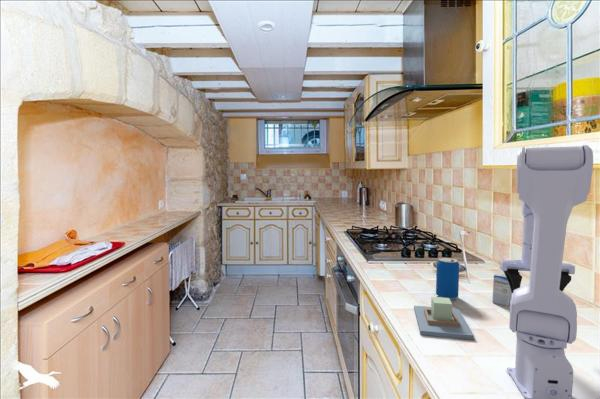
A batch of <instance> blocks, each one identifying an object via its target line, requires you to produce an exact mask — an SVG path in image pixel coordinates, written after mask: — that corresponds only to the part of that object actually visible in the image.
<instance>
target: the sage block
mask: <svg viewBox="0 0 600 399" xmlns="http://www.w3.org/2000/svg"><path fill="white" fill-rule="evenodd" d="M430 302H431V304H430V307H431V316H432V319H433V320H443V321H452V308H453V303H452V300H450V299H449V298H442V297H439V296H431V301H430Z"/></svg>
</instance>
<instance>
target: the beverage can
mask: <svg viewBox="0 0 600 399" xmlns="http://www.w3.org/2000/svg"><path fill="white" fill-rule="evenodd" d="M458 261H459V260H458V258H453V257H445V256H443V257H438V259H437V261H436V276H435V277H436V279H435V281H436V282H435V295H436V296H437V297H442V298H449V299H450V301H453V300H455V299H457V298H459V285H460V283H459V282H460V280H459V279H460V264H459V262H458Z"/></svg>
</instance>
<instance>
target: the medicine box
mask: <svg viewBox="0 0 600 399" xmlns="http://www.w3.org/2000/svg"><path fill="white" fill-rule="evenodd" d="M492 283H493V284H492V286H493V287H492V303H493V304H496V305H501V306H505V307H510V301H511V298H512V292H511V288H510V285H509V282H508V280H507V278H506V275H505V273H504V271H502V270H501V269H498V270H497V271H496V273H494V274H493V282H492Z"/></svg>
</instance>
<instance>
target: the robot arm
mask: <svg viewBox="0 0 600 399" xmlns="http://www.w3.org/2000/svg"><path fill="white" fill-rule="evenodd" d="M516 160H517V161H516V180H515V181H516V193H517V194H518V200H520V201H521V214H522V216H523V222H522V244H521V259H515V260H511V259H510V260H501V259H500V260H499V270H502V271H504V273H505V275H506V278H507V280H508V282H509V285H510V288H511V292H512V298H511V301H510V305H509V323H508V324H509V325H508V326H509V328H508V329H510V330H511V332H512V333H514V334H516V343H515V344H516V345H515V346H516V348H515V364H514V365H515V367H507V368H506V371H507V372H508V374H509V376H510V378H511V379H512V381H513V382H514V384H515V385H516V387H517V388H518V390H519V391H520V393H521V394H522V397H523V398H524V399H575V398H574V397H573V387H574V385H573V383H574V368H573V366H572V364H571V362H570V361H569V359H568V358H567V356H566V352H565V350H566V349H567V348H568V347H567V346H568V345H567V344H570V345H571V344H573V343H574V342H575V341H576V339H577V333H578V332H577V331H578V319H577V318H578V310H577V306H576V303H575V301H574V299H573V298H572V297H571V296H569V295H568V294H567V293H565V292H563V291H564V290H565V288H566V287H567V286H568V284H570V282H571V281H572V275H575V272H576V266H575V265H574V264H571V263H567V262H566V263H564V262H563V260H564V251H565V245H566V244H565V242H566V234H567V228H568V227H567V225H568V221H569V219H570V216H571V213H572V211H573V208H574V207H575V206H579V205H580V204H583V203H586V202H587V200H588V196H589V195H590V192H591V183H592V176H593V171H594V170H593V169H594V152H593V149H592V148H591V147H590V146H589V145H588V144H583V145H579V146H577V145H575V146H551V147H549V146H548V147H547V146H546V147H525V146H522V147H520V149H518V150H517V159H516ZM520 271H521V272H530V273H529V283H527V284H526V285H523V286H521V283H522V280H523V275H521V274H520Z"/></svg>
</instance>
